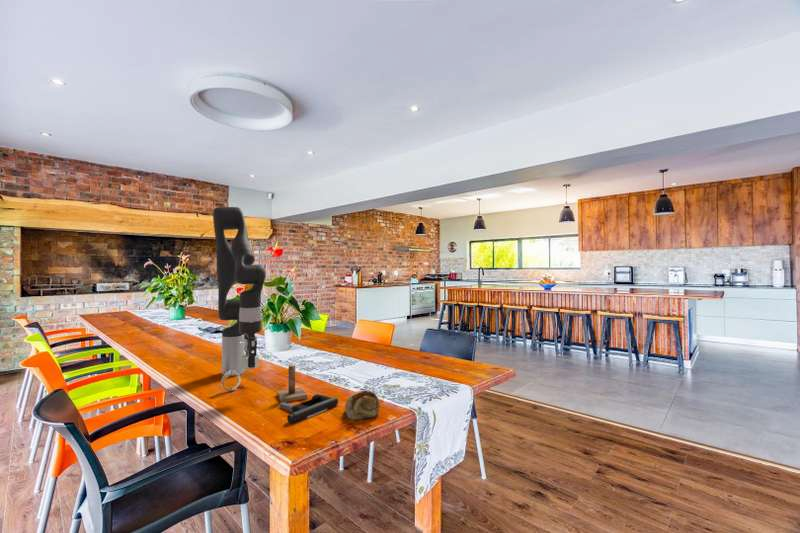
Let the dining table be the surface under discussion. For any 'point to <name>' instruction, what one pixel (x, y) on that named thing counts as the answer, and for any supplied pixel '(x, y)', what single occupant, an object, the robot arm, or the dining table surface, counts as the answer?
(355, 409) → the pastry
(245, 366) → the napkin ring
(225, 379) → the bracelet
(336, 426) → the dining table surface
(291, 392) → the ring stand
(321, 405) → the door handle
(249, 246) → the robot arm
